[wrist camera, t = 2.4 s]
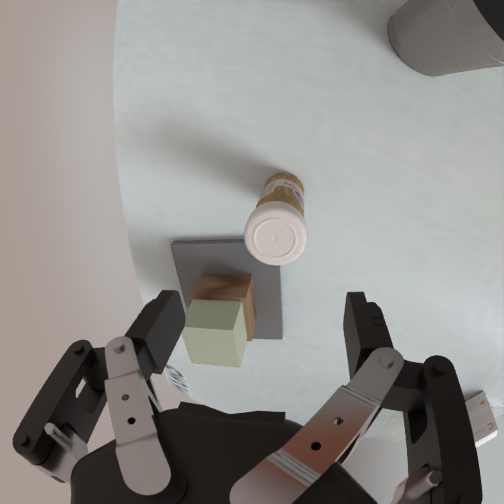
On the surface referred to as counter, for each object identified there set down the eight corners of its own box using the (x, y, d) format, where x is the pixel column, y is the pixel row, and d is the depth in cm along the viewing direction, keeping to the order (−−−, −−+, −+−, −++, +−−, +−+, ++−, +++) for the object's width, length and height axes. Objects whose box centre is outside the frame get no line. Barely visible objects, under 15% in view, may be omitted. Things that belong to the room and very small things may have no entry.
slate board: (278, 238, 34) (277, 242, 33) (282, 334, 41) (282, 339, 41) (173, 241, 37) (170, 244, 36) (196, 330, 44) (194, 334, 43)
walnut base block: (252, 274, 36) (245, 297, 32) (256, 316, 39) (251, 341, 35) (201, 274, 37) (188, 295, 33) (209, 314, 40) (200, 337, 36)
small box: (459, 412, 48) (470, 451, 37) (457, 405, 47) (469, 446, 35) (484, 398, 45) (497, 435, 34) (484, 389, 43) (498, 429, 32)
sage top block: (241, 300, 32) (232, 330, 28) (247, 338, 35) (240, 367, 30) (193, 299, 33) (178, 326, 29) (202, 335, 36) (191, 362, 31)
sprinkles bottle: (312, 191, 31) (320, 241, 19) (284, 217, 33) (274, 278, 21) (283, 163, 30) (274, 194, 18) (255, 190, 32) (229, 238, 20)
